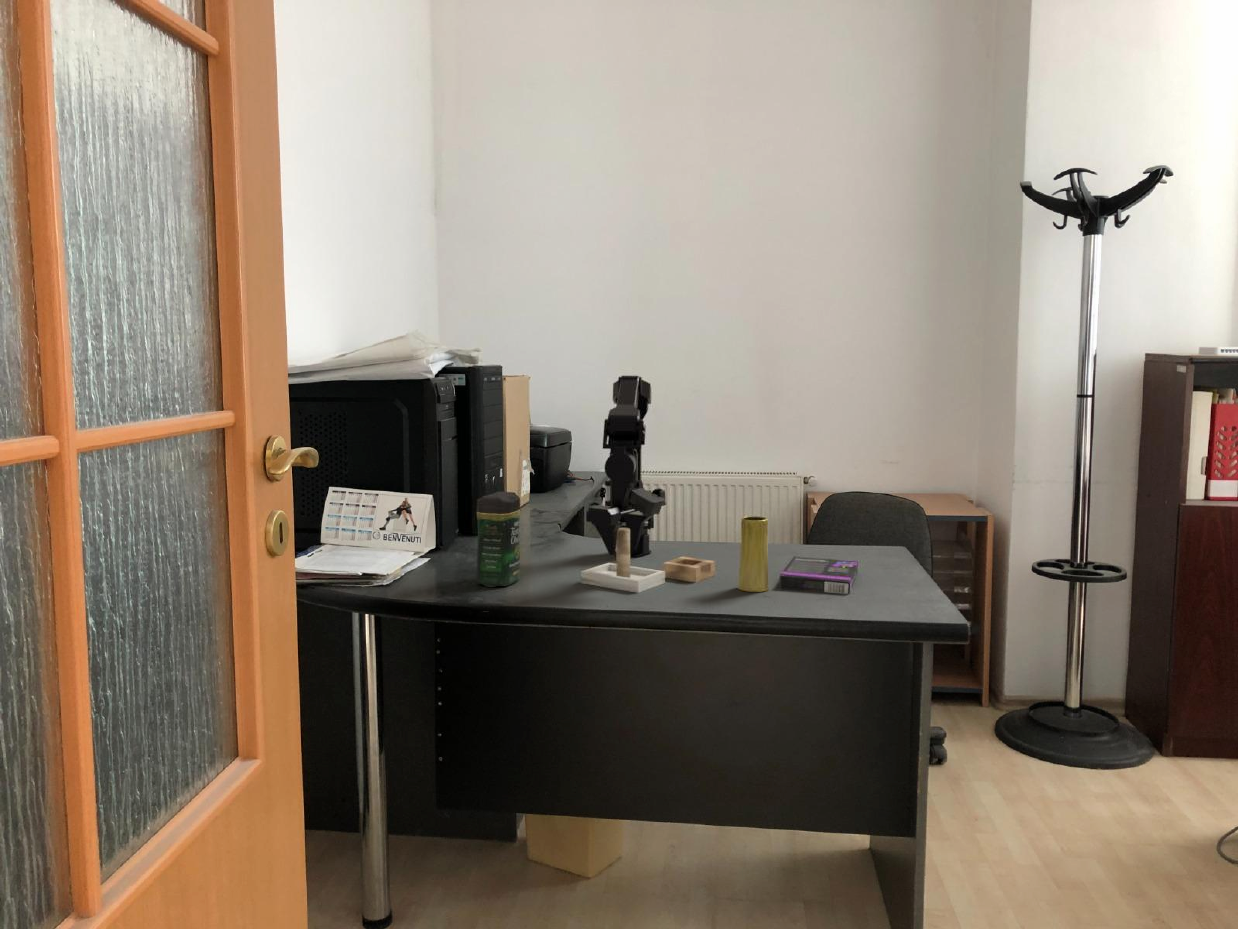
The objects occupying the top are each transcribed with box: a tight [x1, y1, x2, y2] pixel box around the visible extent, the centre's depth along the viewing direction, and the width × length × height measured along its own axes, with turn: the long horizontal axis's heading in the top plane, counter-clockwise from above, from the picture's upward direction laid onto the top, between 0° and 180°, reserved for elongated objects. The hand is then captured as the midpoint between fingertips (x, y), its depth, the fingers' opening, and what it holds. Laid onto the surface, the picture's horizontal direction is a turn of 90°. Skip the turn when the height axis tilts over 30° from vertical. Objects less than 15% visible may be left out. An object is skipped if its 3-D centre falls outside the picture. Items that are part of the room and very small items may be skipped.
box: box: [779, 556, 859, 595], centre depth 205 cm, size 14×4×20 cm
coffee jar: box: [476, 490, 522, 588], centre depth 201 cm, size 10×8×19 cm
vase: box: [737, 515, 769, 593], centre depth 197 cm, size 6×6×14 cm
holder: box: [662, 556, 716, 583], centre depth 208 cm, size 8×8×3 cm
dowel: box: [615, 528, 631, 578], centre depth 201 cm, size 3×3×10 cm
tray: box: [580, 562, 666, 594], centre depth 202 cm, size 14×10×2 cm
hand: (623, 551), depth 201 cm, fingers open, 8 cm apart
